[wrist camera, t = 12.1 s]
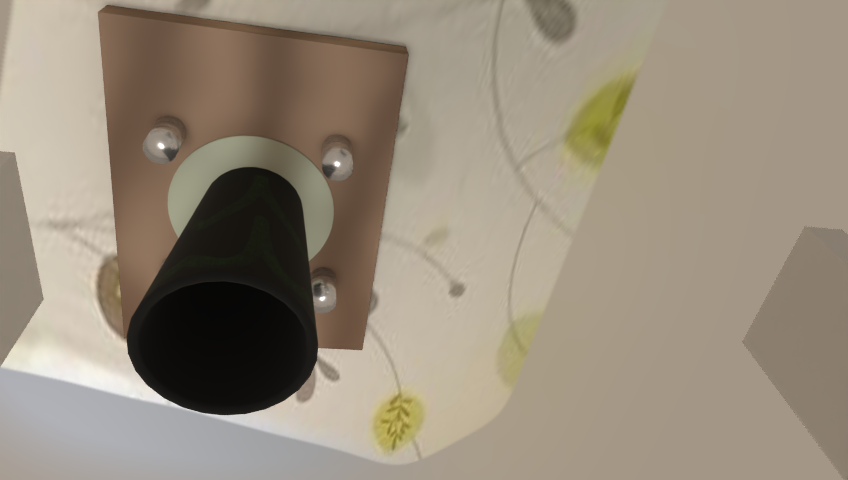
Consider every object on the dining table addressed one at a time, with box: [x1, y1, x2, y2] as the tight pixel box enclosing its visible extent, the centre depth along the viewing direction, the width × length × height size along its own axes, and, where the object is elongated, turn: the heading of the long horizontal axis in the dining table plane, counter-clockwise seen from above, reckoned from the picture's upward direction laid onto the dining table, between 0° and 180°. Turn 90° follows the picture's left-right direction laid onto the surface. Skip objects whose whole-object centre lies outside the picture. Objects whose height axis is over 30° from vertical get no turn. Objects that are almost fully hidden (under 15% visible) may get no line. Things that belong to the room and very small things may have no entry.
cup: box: [127, 167, 318, 415], centre depth 32 cm, size 8×8×12 cm
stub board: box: [98, 5, 408, 350], centre depth 37 cm, size 15×20×4 cm
